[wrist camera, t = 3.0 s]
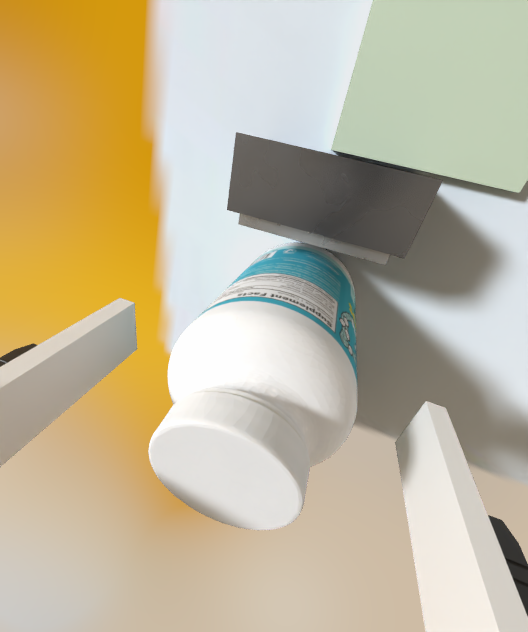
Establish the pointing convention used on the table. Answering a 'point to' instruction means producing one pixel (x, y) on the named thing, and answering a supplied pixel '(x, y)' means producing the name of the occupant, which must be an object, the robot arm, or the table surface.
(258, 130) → the table surface
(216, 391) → the pill bottle
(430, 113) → the pad
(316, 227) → the vise
